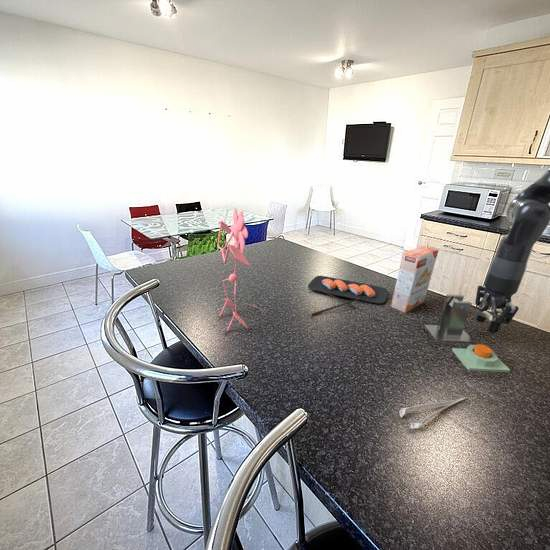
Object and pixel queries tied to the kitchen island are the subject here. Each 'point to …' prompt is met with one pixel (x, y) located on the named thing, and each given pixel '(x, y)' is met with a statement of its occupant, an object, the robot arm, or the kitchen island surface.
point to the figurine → (239, 234)
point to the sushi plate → (348, 291)
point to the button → (482, 351)
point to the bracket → (452, 321)
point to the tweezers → (428, 406)
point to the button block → (479, 360)
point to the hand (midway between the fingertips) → (486, 326)
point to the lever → (474, 310)
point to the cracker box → (414, 278)
